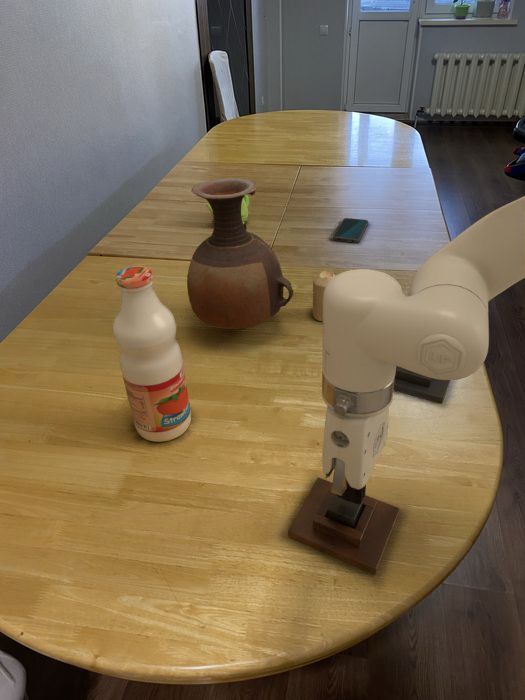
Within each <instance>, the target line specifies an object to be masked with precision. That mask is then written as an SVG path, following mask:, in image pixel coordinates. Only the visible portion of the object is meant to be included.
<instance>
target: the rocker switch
mask: <svg viewBox="0 0 525 700" xmlns="http://www.w3.org/2000/svg"><path fill="white" fill-rule="evenodd" d="M363 502H364V499H363V500H362V503H361V504H360V505H358V504H355V503H353V502H348V501H345V500H344V499H342V498H339V497H338V496H337V494H335V496H334V498H333V500H332V502H331V504H330V506H329V508H328V514H327V517H328V518H330V519H332V520H335V521H337V522H340V523H342V524H345V525H347V526H349V527H352V528H354V526H355V523H356V521H357V519H358V517H359V515H360V513H361V510H362V508H363Z"/></svg>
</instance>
